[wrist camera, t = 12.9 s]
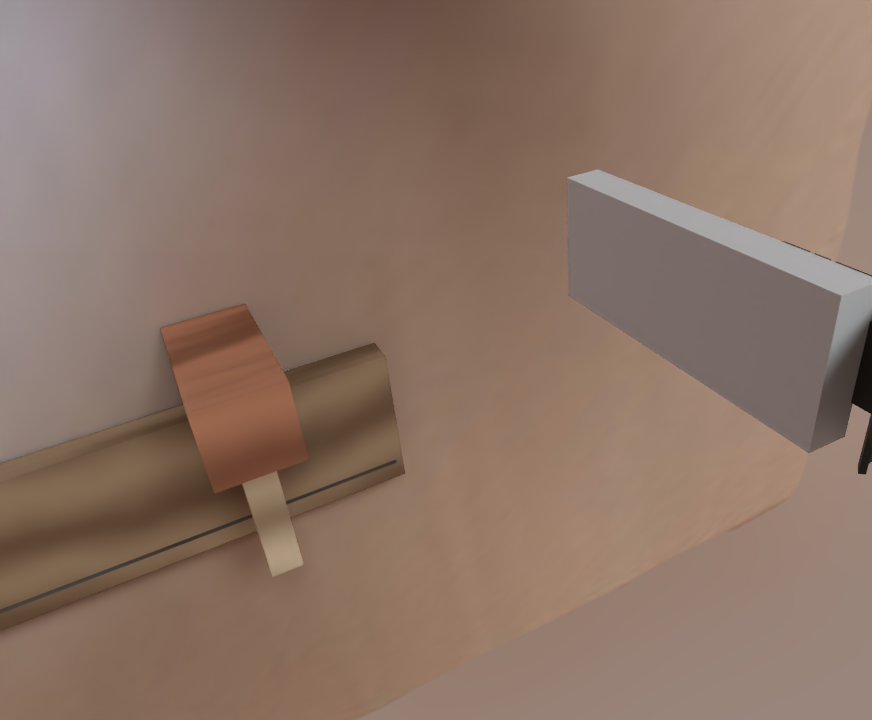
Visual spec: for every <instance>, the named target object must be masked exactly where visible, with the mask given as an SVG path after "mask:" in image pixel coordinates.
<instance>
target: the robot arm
mask: <svg viewBox="0 0 872 720" xmlns="http://www.w3.org/2000/svg"><path fill="white" fill-rule="evenodd" d="M567 208H568V284H569V296H570V297H572V298H573V299H575V300H576V301H578V302H579V303H581V304H582V305H584V306H585V307H587V308H588V309H590V310H591V311H593V312H594V313H596V314H598V315H599V316H601V317H602V318H604V319H605V320H607V321H608V322H610V323H611V324H613V325H614V326H616V327H617V328H619V329H620V330H622V331H623V332H625V333H627V334H628V335H630V336H631V337H633V338H634V339H636V340H637V341H639V342H640V343H642V344H643V345H645V346H646V347H648V348H649V349H651V350H652V351H654V352H655V353H657V354H659V355H660V356H662V357H663V358H665V359H666V360H668V361H669V362H671V363H672V364H674V365H675V366H677V367H678V368H680V369H681V370H683V371H684V372H686V373H688V374H689V375H691V376H692V377H694V378H695V379H697V380H698V381H700V382H701V383H703V384H704V385H706V386H707V387H709V388H710V389H712V390H713V391H715V392H716V393H718V394H720V395H721V396H723V397H724V398H726V399H727V400H729V401H730V402H732V403H733V404H735V405H736V406H738V407H739V408H741V409H742V410H744V411H745V412H747V413H749V414H750V415H752V416H753V417H755V418H756V419H758V420H759V421H761V422H762V423H764V424H765V425H767V426H768V427H770V428H771V429H773V430H774V431H776V432H777V433H779V434H781V435H782V436H784V437H785V438H787V439H788V440H790V441H791V442H793V443H794V444H796V445H797V446H799V447H800V448H802V449H803V450H805V451H806V452H808V453H810V452H812V451H815V450H817V449H819V448H821V447H823V446H825V445H828V444H830V443H832V442H834V441H836V440H838V439H840V438H843V437H845V433H846V429H847V425H848V420H849V416H850V412H851V408H852V404H855V405H856V406H858V407H860V408H862V409H863V410H865V411H867V412H869V413H871V416H870V420H869V425H868V428H867V432H866V436H865V440H864V444H863V448H862V452H861V456H860V460H859V463H858V474H866V471H867V468H868V464H869V463H870V462H872V275H869V274H867V273H864V272H861V271H859V270H856V269H854V268H851V267H849V266H846V265H843V264H841V263H838V262H833V261H831V259H828V258H826V257H823V256H820V255H818V254H813V253H810V251H808V250H805V249H803V248H800V247H797V246H795V245H792V244H790V243H787V242H784V241H779V240H777V239H774V238H772V237H769V236H767V235H764V234H761V233H759V232H756V231H754V230H751V229H749V228H746V227H744V226H741V225H738V224H736V223H733V222H731V221H728V220H726V219H723V218H721V217H718V216H715V215H713V214H710V213H708V212H705V211H703V210H700V209H698V208H695V207H693V206H690V205H687V204H685V203H682V202H680V201H677V200H675V199H672V198H670V197H667V196H664V195H662V194H659V193H657V192H654V191H652V190H649V189H647V188H644V187H641V186H639V185H636V184H634V183H631V182H629V181H626V180H624V179H621V178H618V177H616V176H613V175H611V174H608V173H606V172H603V171H601V170H598V169H597V170H594V171H590V172H586V173H583V174H579V175H575V176H572V177H568V178H567Z"/></svg>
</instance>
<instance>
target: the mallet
mask: <svg viewBox="0 0 872 720" xmlns="http://www.w3.org/2000/svg"><path fill="white" fill-rule="evenodd" d="M160 329H161V332H162V335H163V339H164V342H165V345H166V349H167V352H168V355H169V358H170V362H171V365H172V368H173V372H174V375H175V378H176V382H177V385H178V388H179V391H180V395H181V398H182V401H183V405H184V408H185V411H186V415H187V417H188V420H189V423H190V426H191V429H192V431H193V434H194V437H195V440H196V443H197V446H198V448H199V451H200V454H201V457H202V460H203V462H204V465H205V468H206V471H207V474H208V477H209V479H210V482H211V485H212V488H213V491H214V493H218V492H221V491H223V490H226V489H229V488H232V487H234V486H237V485H240V484H242V487H243V490H244V493H245V496H246V499H247V502H248V505H249V508H250V511H251V514H252V517H253V520H254V523H255V526H256V530H257V533H258V536H259V539H260V542H261V545H262V548H263V551H264V554H265V557H266V560H267V563H268V565H269V568H270V571H271V574H272V576H273V577H275V576H277V575H280V574H282V573H285V572H287V571H289V570H292V569H294V568H297V567H299V566H302V565H304V564H303V560H302V557H301V553H300V550H299V546H298V543H297V539H296V536H295V532H294V529H293V525H292V522H291V519H290V515H289V512H288V508H287V505H286V501H285V498H284V494H283V491H282V487H281V484H280V481H279V477H278V474H277V471H278V470H281V469H284V468H286V467H289V466H292V465H295V464H297V463H300V462H303V461H306V460H308V455H307V451H306V447H305V443H304V439H303V435H302V431H301V427H300V423H299V420H298V416H297V412H296V408H295V404H294V400H293V396H292V392H291V388H290V384H289V381H288V379H287V377H286V375H285V374H284V372H283V370H282V368H281V367H280V365H279V363H278V361H277V359H276V358H275V356H274V354H273V352H272V351H271V349H270V347H269V345H268V344H267V342H266V340H265V338H264V336H263V335H262V333H261V331H260V329H259V328H258V326H257V324H256V322H255V321H254V319H253V317H252V315H251V313H250V312H249V310H248V308H247V306H246V305H245V304H242V305H239V306H235V307H232V308H228V309H225V310H221V311H218V312H214V313H211V314H207V315H204V316H200V317H197V318H193V319H190V320H187V321H183V322H180V323H176V324H173V325H169V326H166V327H162V328H160Z"/></svg>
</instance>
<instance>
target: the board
mask: <svg viewBox="0 0 872 720" xmlns="http://www.w3.org/2000/svg"><path fill="white" fill-rule="evenodd" d="M284 374H285V375H286V377H287V379H288V381H289V384H290V388H291V392H292V396H293V400H294V404H295V408H296V412H297V416H298V420H299V423H300V427H301V431H302V435H303V439H304V443H305V447H306V451H307V455H308V460H306V461H303V462H300V463H297V464H295V465H292V466H289V467H286V468H284V469H281V470H278V471H277V474H278V477H279V481H280V484H281V487H282V491H283V494H284V498H285V501H286V505H287V508H288V512H289V515H290V518H291V517H294V516H297V515H299V514H302V513H304V512H307V511H310V510H312V509H315V508H317V507H320V506H322V505H325V504H328V503H330V502H333V501H335V500H338V499H340V498H343V497H346V496H348V495H351V494H353V493H356V492H359V491H361V490H364V489H366V488H369V487H371V486H374V485H377V484H379V483H382V482H384V481H387V480H390V479H392V478H395V477H397V476H400V475H402V474H405V470H404V464H403V458H402V452H401V446H400V440H399V434H398V428H397V423H396V417H395V411H394V405H393V399H392V393H391V387H390V381H389V375H388V370H387V364H386V358H385V355H384V354H383V353H382V352H381V350H380V349H379V348H378V347H377V346H376V344H375V343H372V344H369V345H366V346H363V347H360V348H357V349H354V350H351V351H348V352H345V353H341V354H338V355H335V356H332V357H329V358H326V359H323V360H320V361H317V362H314V363H310V364H307V365H304V366H301V367H298V368H295V369H292V370H289V371H286V372H284ZM255 531H257V530H256V526H255V523H254V520H253V517H252V514H251V511H250V508H249V505H248V502H247V499H246V496H245V493H244V490H243V487H242V484H240V485H237V486H234V487H232V488H229V489H226V490H223V491H221V492H218V493H214V491H213V488H212V485H211V482H210V479H209V477H208V474H207V471H206V468H205V465H204V462H203V460H202V457H201V454H200V451H199V448H198V446H197V443H196V440H195V437H194V434H193V431H192V429H191V426H190V423H189V420H188V417H187V415H186V411H185V408H184V405H180V406H177V407H174V408H171V409H168V410H165V411H162V412H159V413H156V414H152V415H149V416H146V417H143V418H140V419H137V420H134V421H131V422H128V423H125V424H121V425H118V426H115V427H112V428H109V429H106V430H103V431H100V432H97V433H94V434H90V435H87V436H84V437H81V438H78V439H75V440H72V441H69V442H66V443H63V444H59V445H56V446H53V447H50V448H47V449H44V450H41V451H38V452H35V453H32V454H28V455H25V456H22V457H19V458H16V459H13V460H10V461H7V462H4V463H1V464H0V630H2V629H5V628H8V627H10V626H13V625H15V624H18V623H21V622H23V621H26V620H28V619H31V618H33V617H36V616H39V615H41V614H44V613H46V612H49V611H52V610H54V609H57V608H59V607H62V606H64V605H67V604H70V603H72V602H75V601H77V600H80V599H82V598H85V597H88V596H90V595H93V594H95V593H98V592H101V591H103V590H106V589H108V588H111V587H113V586H116V585H119V584H121V583H124V582H126V581H129V580H131V579H134V578H137V577H139V576H142V575H144V574H147V573H150V572H152V571H155V570H157V569H160V568H162V567H165V566H168V565H170V564H173V563H175V562H178V561H181V560H183V559H186V558H188V557H191V556H193V555H196V554H199V553H201V552H204V551H206V550H209V549H211V548H214V547H217V546H219V545H222V544H224V543H227V542H230V541H232V540H235V539H237V538H240V537H242V536H245V535H248V534H250V533H253V532H255Z"/></svg>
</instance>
